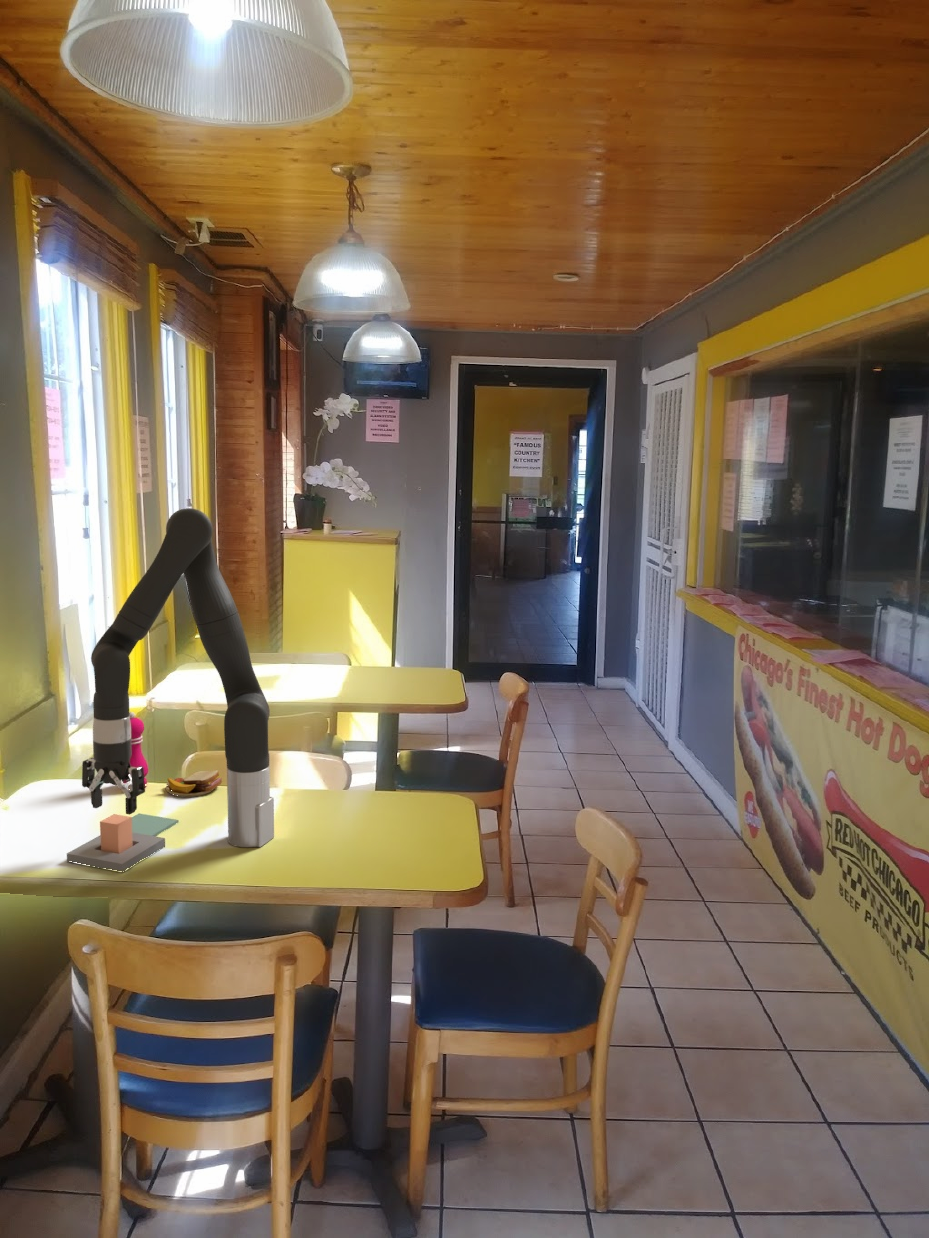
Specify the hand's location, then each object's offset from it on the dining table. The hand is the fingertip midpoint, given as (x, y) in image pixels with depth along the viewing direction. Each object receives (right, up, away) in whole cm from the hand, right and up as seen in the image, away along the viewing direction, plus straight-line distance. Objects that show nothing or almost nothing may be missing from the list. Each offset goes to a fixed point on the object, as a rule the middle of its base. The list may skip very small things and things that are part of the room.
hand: (113, 810), depth 195 cm
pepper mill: (-11, -3, +41) cm, 43 cm away
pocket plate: (0, -10, +1) cm, 10 cm away
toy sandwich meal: (+5, -4, +41) cm, 42 cm away
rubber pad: (+1, -7, +16) cm, 18 cm away
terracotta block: (0, -10, +1) cm, 10 cm away
